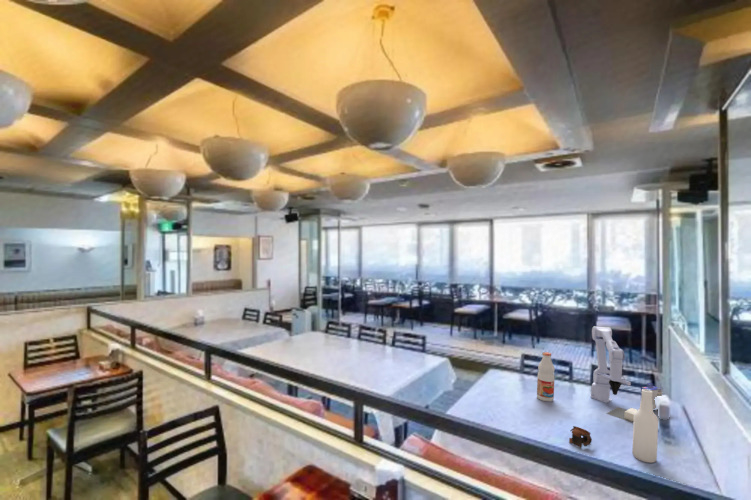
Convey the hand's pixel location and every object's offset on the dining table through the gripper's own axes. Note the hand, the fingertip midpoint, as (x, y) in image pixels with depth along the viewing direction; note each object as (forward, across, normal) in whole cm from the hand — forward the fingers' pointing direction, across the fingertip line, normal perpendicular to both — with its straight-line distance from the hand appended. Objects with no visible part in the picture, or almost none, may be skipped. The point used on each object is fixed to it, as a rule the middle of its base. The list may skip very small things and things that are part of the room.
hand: (614, 394), depth 214 cm
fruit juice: (+10, -32, -16) cm, 37 cm away
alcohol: (+10, +28, -41) cm, 51 cm away
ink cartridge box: (+10, +10, +24) cm, 28 cm away
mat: (+10, +6, +1) cm, 12 cm away
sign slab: (+8, +7, 0) cm, 10 cm away
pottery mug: (+10, +6, -53) cm, 54 cm away
